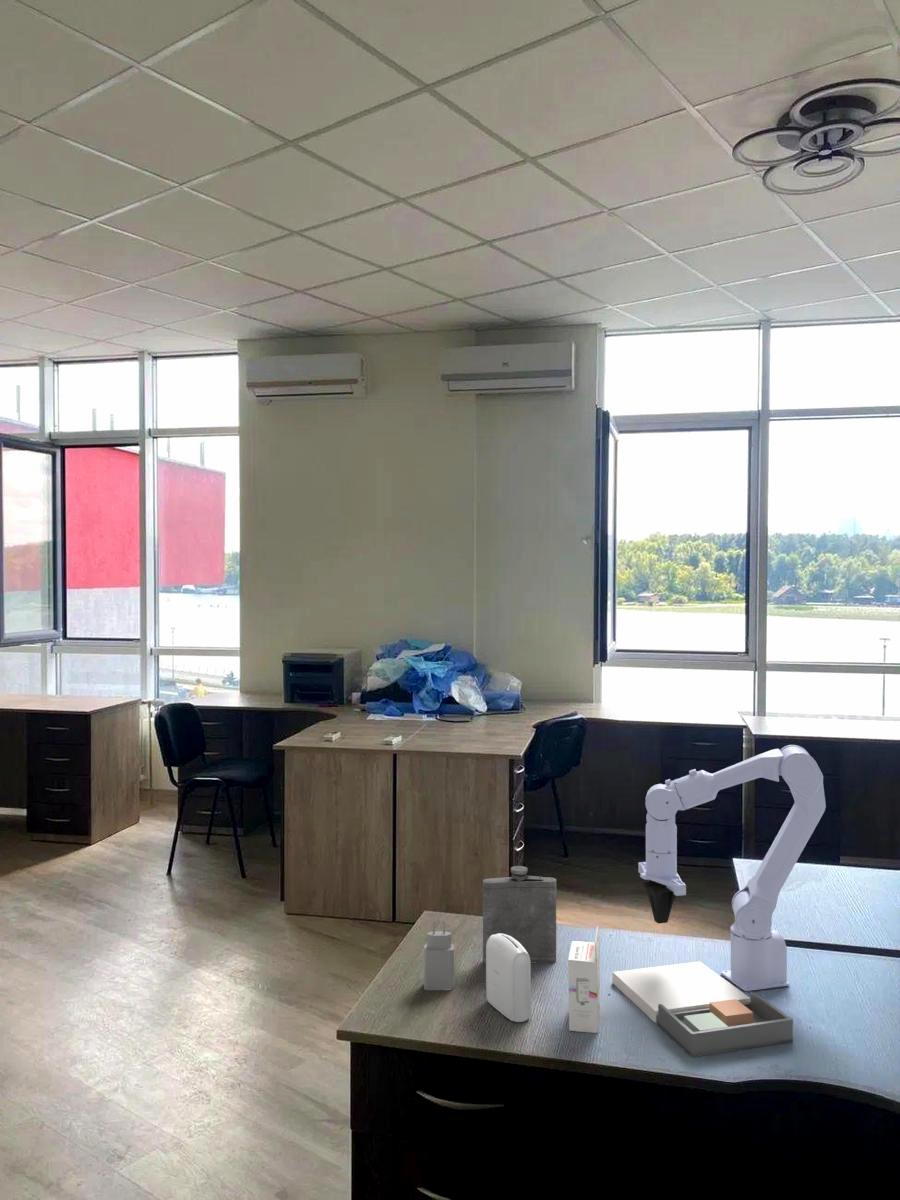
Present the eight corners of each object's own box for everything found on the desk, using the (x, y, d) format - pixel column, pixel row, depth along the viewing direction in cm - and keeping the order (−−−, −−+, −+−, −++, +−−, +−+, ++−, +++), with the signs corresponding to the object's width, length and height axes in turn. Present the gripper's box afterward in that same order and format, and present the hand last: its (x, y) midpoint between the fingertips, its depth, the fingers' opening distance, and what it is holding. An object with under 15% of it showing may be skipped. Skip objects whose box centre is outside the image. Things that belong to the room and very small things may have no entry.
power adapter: (424, 982, 161) (424, 917, 161) (453, 982, 161) (453, 917, 162) (423, 990, 158) (423, 923, 158) (454, 990, 158) (454, 923, 158)
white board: (699, 971, 166) (699, 961, 166) (750, 1009, 151) (750, 998, 151) (612, 982, 161) (612, 971, 161) (655, 1023, 146) (655, 1011, 146)
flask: (481, 957, 173) (481, 866, 173) (553, 955, 174) (554, 864, 174) (483, 965, 169) (483, 871, 169) (557, 963, 170) (557, 870, 170)
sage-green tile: (728, 1026, 139) (728, 1040, 139) (711, 1012, 144) (711, 1025, 144) (700, 1030, 138) (700, 1044, 138) (683, 1016, 143) (683, 1029, 143)
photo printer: (482, 1000, 154) (482, 929, 154) (504, 995, 156) (504, 925, 156) (512, 1025, 145) (512, 950, 145) (534, 1020, 147) (534, 946, 147)
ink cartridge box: (570, 1007, 152) (571, 922, 152) (600, 1010, 151) (600, 924, 151) (567, 1031, 143) (567, 940, 143) (598, 1034, 142) (598, 943, 142)
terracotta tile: (736, 1012, 149) (736, 999, 149) (753, 1026, 144) (753, 1012, 144) (709, 1015, 148) (709, 1002, 148) (725, 1029, 143) (725, 1016, 143)
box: (751, 1010, 151) (751, 990, 151) (792, 1041, 140) (792, 1019, 140) (656, 1024, 146) (656, 1002, 146) (691, 1057, 135) (691, 1034, 135)
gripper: (624, 841, 172) (624, 910, 172) (661, 862, 158) (661, 938, 158) (656, 838, 174) (656, 907, 174) (696, 859, 160) (696, 934, 160)
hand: (661, 921), depth 166 cm, fingers closed
